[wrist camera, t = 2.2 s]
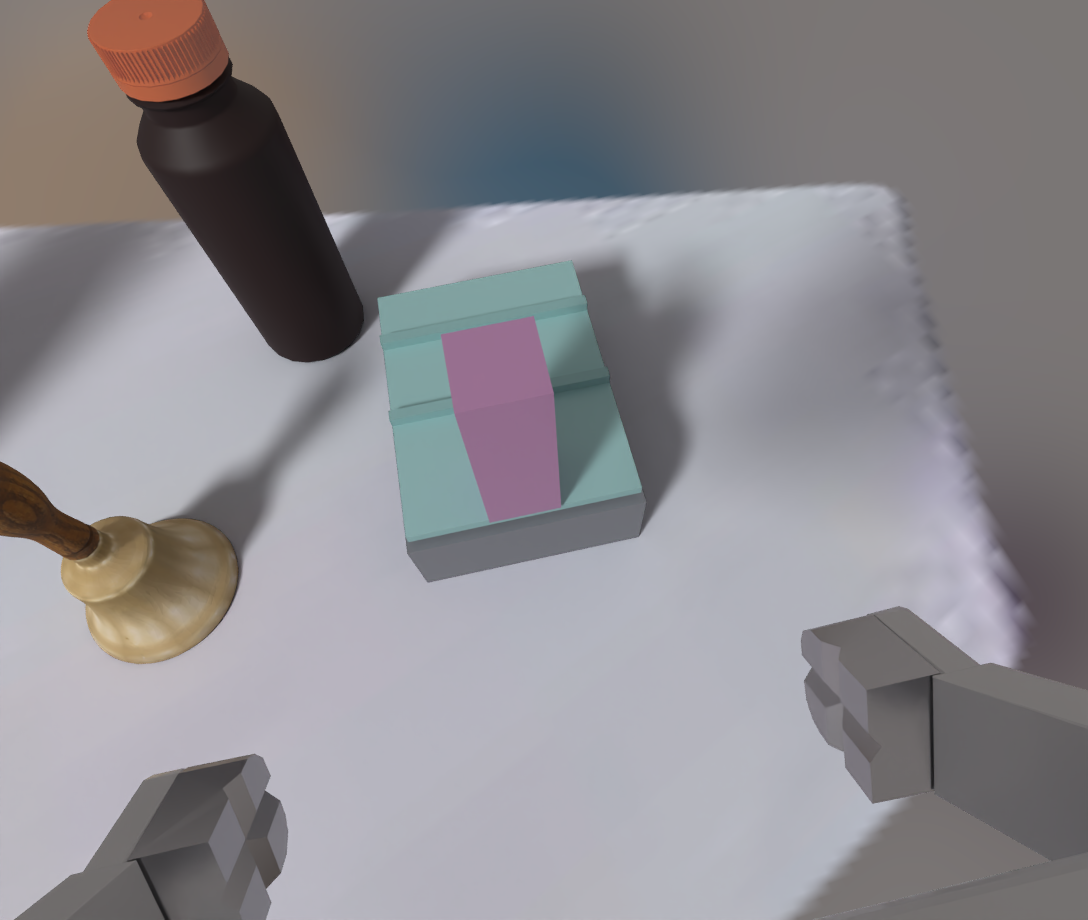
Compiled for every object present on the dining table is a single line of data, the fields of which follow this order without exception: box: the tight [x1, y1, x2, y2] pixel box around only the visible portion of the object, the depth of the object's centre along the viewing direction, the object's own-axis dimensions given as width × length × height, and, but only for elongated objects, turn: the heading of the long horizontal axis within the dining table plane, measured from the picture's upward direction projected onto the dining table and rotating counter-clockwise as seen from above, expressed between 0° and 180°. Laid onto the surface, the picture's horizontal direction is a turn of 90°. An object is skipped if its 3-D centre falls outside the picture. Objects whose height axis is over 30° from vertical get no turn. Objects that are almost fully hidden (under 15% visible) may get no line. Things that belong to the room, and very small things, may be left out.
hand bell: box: [0, 462, 238, 664], centre depth 30 cm, size 8×8×16 cm
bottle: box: [87, 0, 364, 362], centre depth 36 cm, size 7×7×20 cm
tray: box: [378, 308, 646, 582], centre depth 38 cm, size 16×12×5 cm
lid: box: [377, 260, 642, 542], centre depth 31 cm, size 15×12×11 cm
